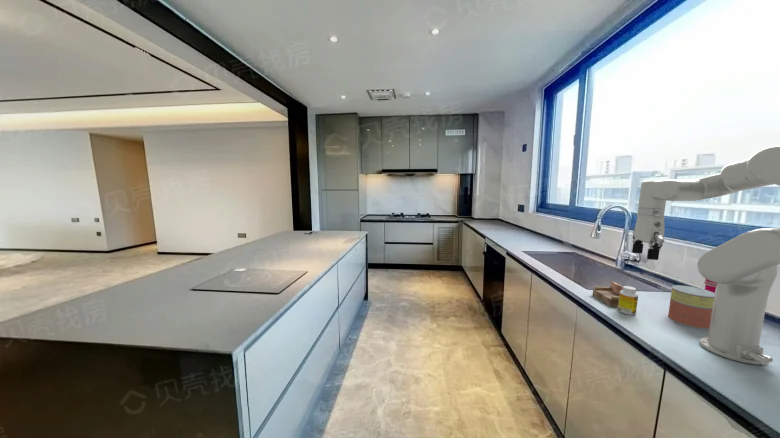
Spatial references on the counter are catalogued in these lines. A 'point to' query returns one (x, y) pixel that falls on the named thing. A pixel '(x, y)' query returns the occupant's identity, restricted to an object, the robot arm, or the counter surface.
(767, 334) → the counter surface
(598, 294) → the display stand
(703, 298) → the canned food
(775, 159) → the robot arm
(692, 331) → the counter surface
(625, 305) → the supplement bottle
